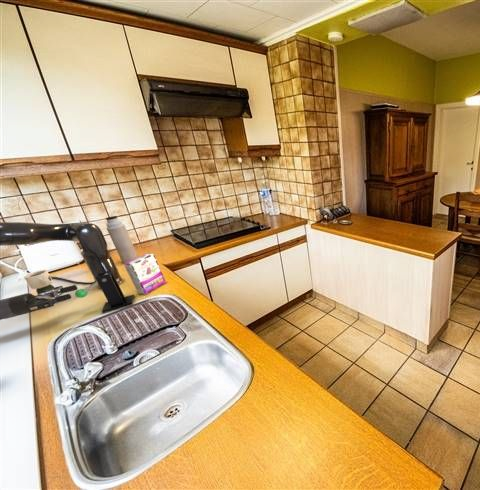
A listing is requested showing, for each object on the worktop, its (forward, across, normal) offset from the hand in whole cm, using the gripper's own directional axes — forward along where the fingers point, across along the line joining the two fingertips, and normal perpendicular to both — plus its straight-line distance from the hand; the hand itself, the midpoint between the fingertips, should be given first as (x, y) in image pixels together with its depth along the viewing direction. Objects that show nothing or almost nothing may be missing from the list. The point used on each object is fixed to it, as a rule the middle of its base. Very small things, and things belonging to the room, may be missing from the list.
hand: (73, 291), depth 109 cm
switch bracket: (+11, 0, +11) cm, 16 cm away
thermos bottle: (+9, +59, +12) cm, 61 cm away
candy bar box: (+22, +8, +12) cm, 26 cm away
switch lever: (+7, 0, +1) cm, 7 cm away
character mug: (-19, +32, +12) cm, 38 cm away
